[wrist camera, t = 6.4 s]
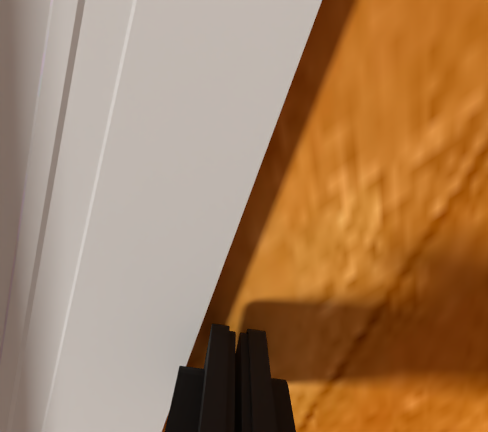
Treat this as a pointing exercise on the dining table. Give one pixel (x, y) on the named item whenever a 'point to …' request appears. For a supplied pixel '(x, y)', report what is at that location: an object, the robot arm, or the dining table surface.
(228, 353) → the robot arm
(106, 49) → the baseboard molding
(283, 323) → the dining table surface
